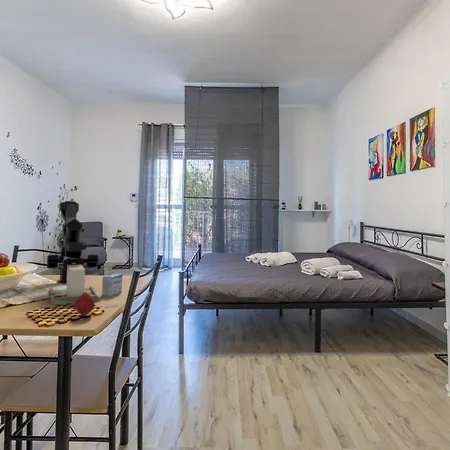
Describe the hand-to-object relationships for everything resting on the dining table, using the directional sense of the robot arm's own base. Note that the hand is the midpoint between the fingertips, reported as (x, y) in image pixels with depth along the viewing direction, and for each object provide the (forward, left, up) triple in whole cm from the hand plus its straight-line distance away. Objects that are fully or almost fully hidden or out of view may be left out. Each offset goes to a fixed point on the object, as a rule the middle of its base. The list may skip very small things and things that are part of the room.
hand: (73, 278), depth 135 cm
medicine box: (+12, +9, -7) cm, 16 cm away
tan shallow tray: (+2, -2, -7) cm, 8 cm away
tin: (+5, -4, -6) cm, 9 cm away
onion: (+22, -16, -7) cm, 28 cm away
